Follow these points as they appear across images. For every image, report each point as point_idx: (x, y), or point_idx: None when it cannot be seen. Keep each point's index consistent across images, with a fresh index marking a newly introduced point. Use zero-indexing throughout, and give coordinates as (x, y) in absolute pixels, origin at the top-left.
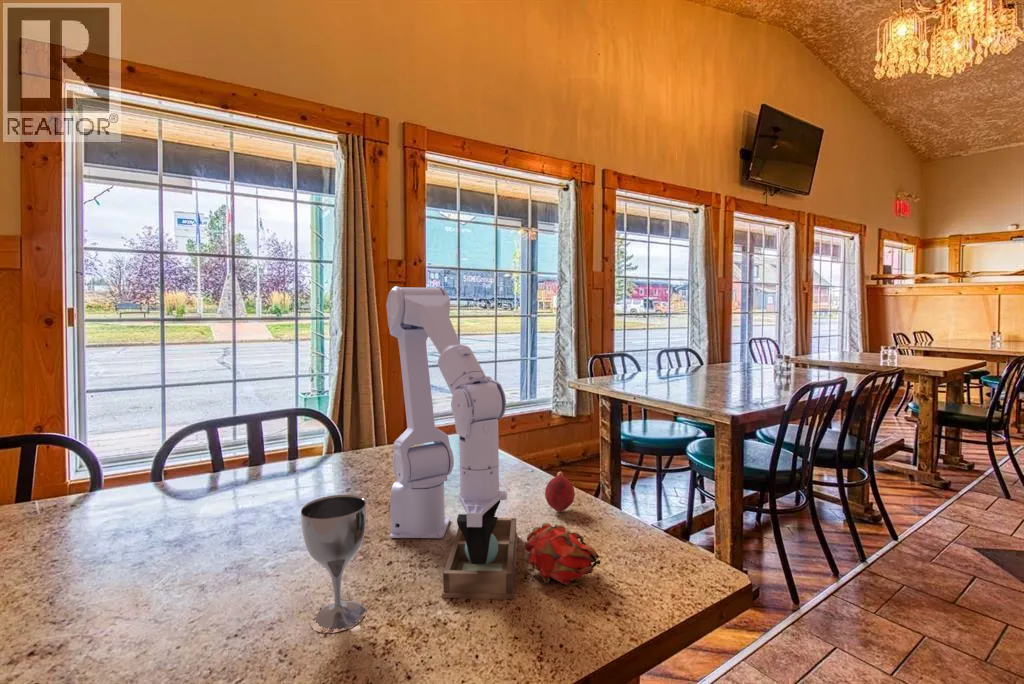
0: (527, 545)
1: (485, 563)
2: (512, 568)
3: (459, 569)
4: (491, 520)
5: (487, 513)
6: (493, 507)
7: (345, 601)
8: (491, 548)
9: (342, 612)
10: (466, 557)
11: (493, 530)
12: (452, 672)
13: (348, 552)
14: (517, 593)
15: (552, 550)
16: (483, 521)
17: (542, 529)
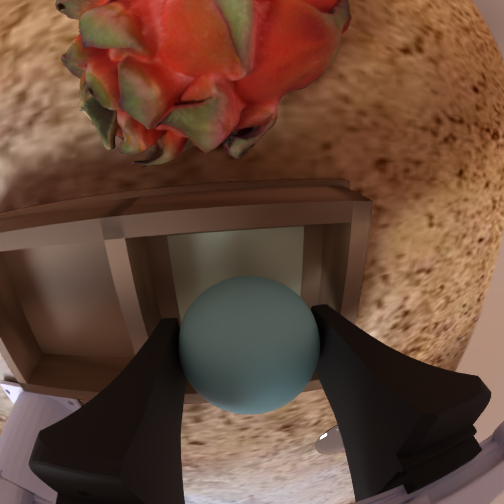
0: (222, 141)
1: (326, 304)
2: (296, 197)
3: None
4: (463, 417)
5: (160, 437)
6: (145, 451)
7: (322, 445)
8: (304, 315)
9: None
10: None
11: (6, 295)
12: (492, 267)
13: None
14: (315, 166)
15: (342, 14)
16: (474, 433)
17: (154, 44)
